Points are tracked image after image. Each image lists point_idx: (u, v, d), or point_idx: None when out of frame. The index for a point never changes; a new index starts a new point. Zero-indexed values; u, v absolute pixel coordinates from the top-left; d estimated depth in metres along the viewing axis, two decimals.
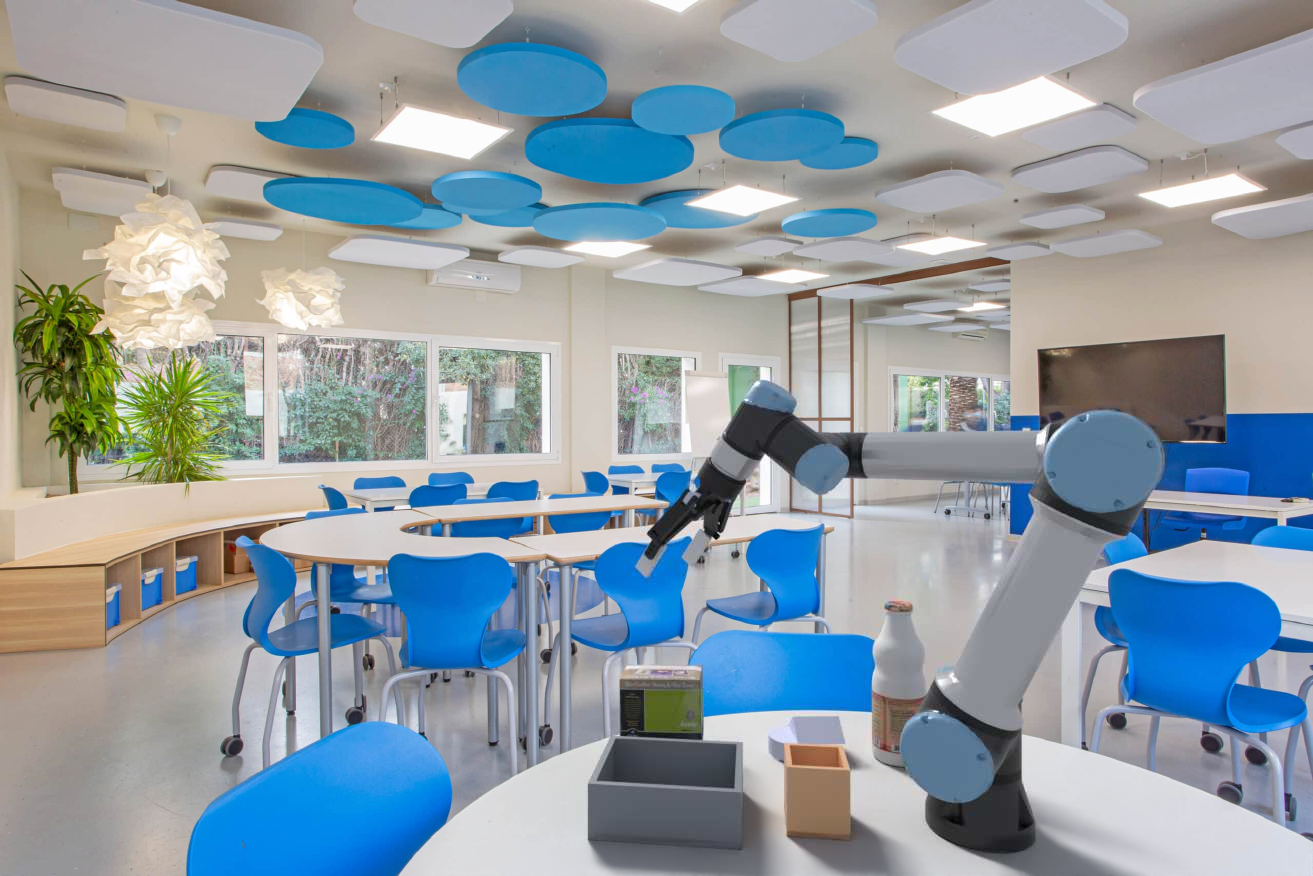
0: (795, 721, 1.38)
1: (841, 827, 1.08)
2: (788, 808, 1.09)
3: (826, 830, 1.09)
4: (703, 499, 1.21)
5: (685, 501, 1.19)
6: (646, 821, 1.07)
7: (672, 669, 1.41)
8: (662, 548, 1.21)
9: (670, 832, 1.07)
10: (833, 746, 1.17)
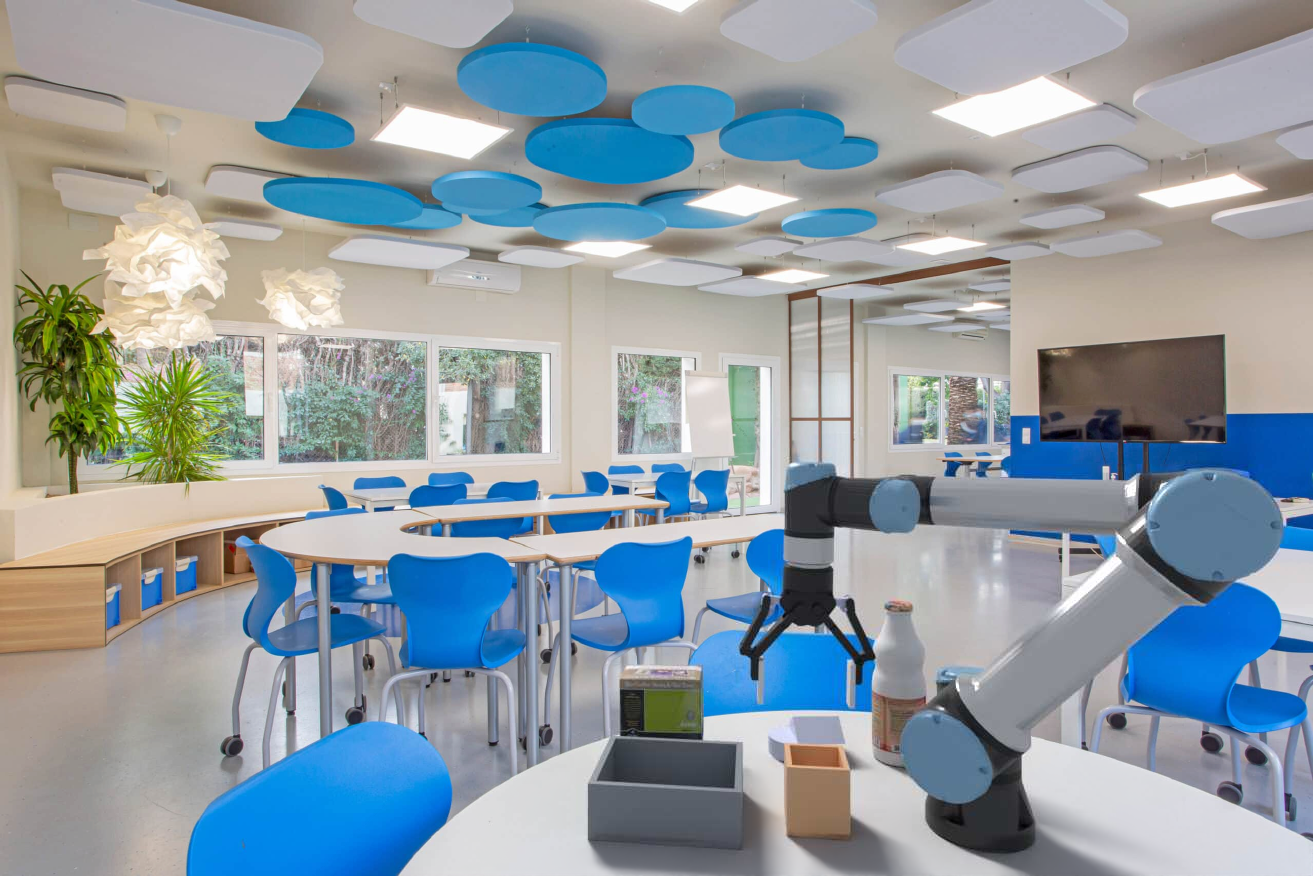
0: (795, 721, 1.38)
1: (841, 827, 1.08)
2: (788, 808, 1.09)
3: (826, 830, 1.09)
4: (783, 600, 1.13)
5: (761, 604, 1.15)
6: (646, 821, 1.07)
7: (672, 669, 1.41)
8: (758, 663, 1.14)
9: (670, 832, 1.07)
10: (833, 746, 1.17)
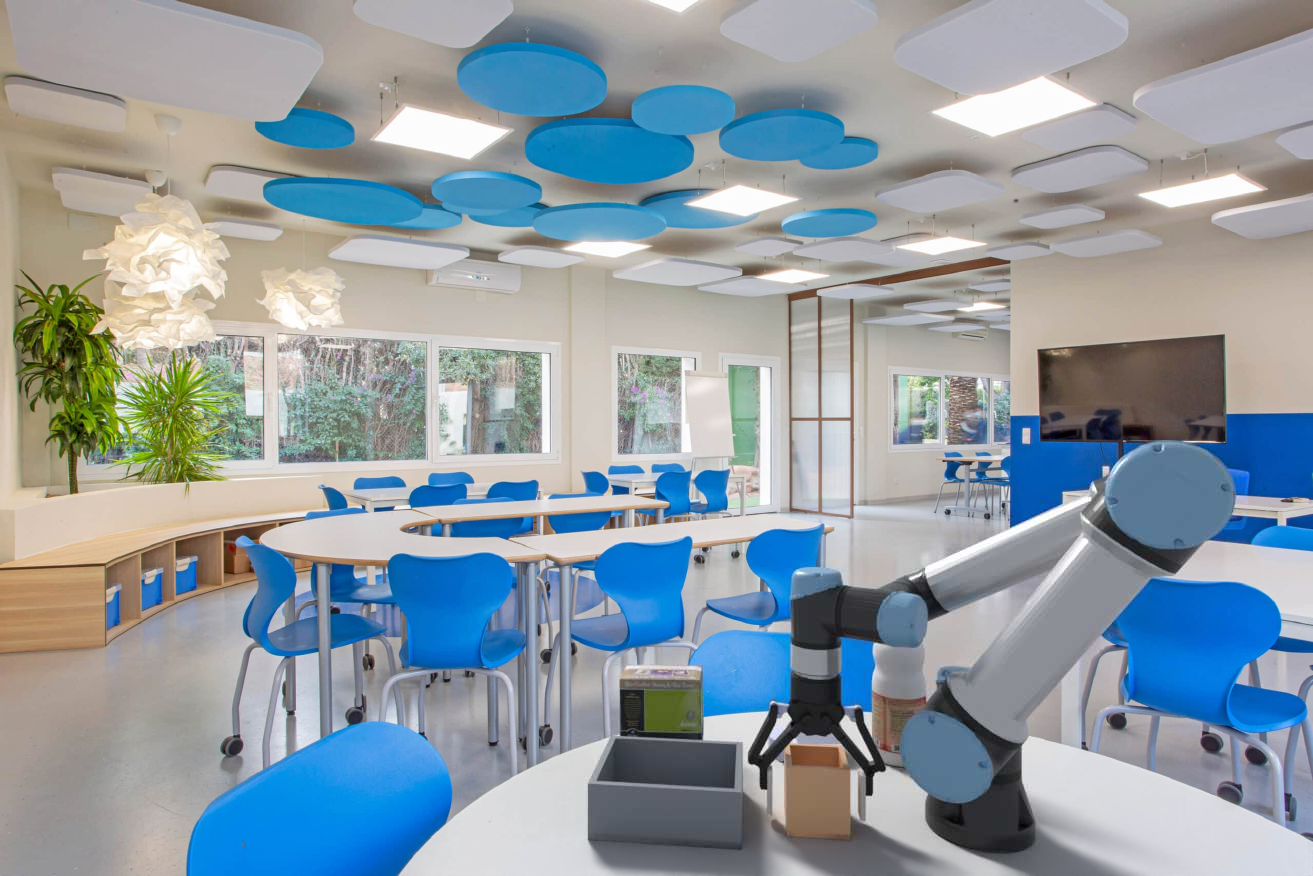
0: None
1: (841, 827, 1.08)
2: (788, 808, 1.09)
3: (826, 830, 1.09)
4: (790, 709, 1.13)
5: None
6: (646, 821, 1.07)
7: (672, 669, 1.41)
8: (767, 773, 1.13)
9: (670, 832, 1.07)
10: (833, 746, 1.17)
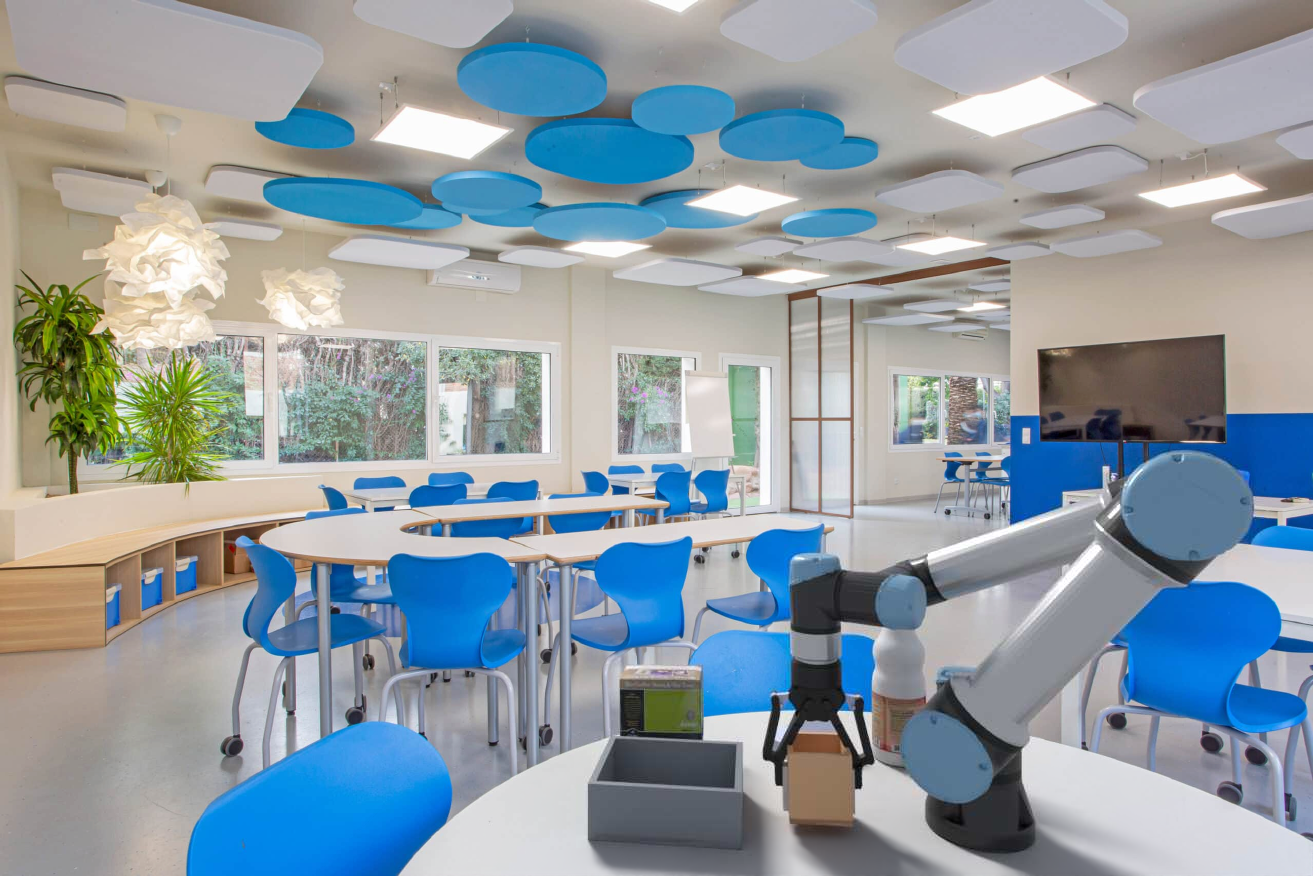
0: None
1: (844, 813, 1.08)
2: (790, 795, 1.09)
3: (828, 817, 1.08)
4: (791, 696, 1.13)
5: None
6: (646, 821, 1.07)
7: (672, 669, 1.41)
8: (782, 769, 1.13)
9: (670, 832, 1.07)
10: (834, 733, 1.17)
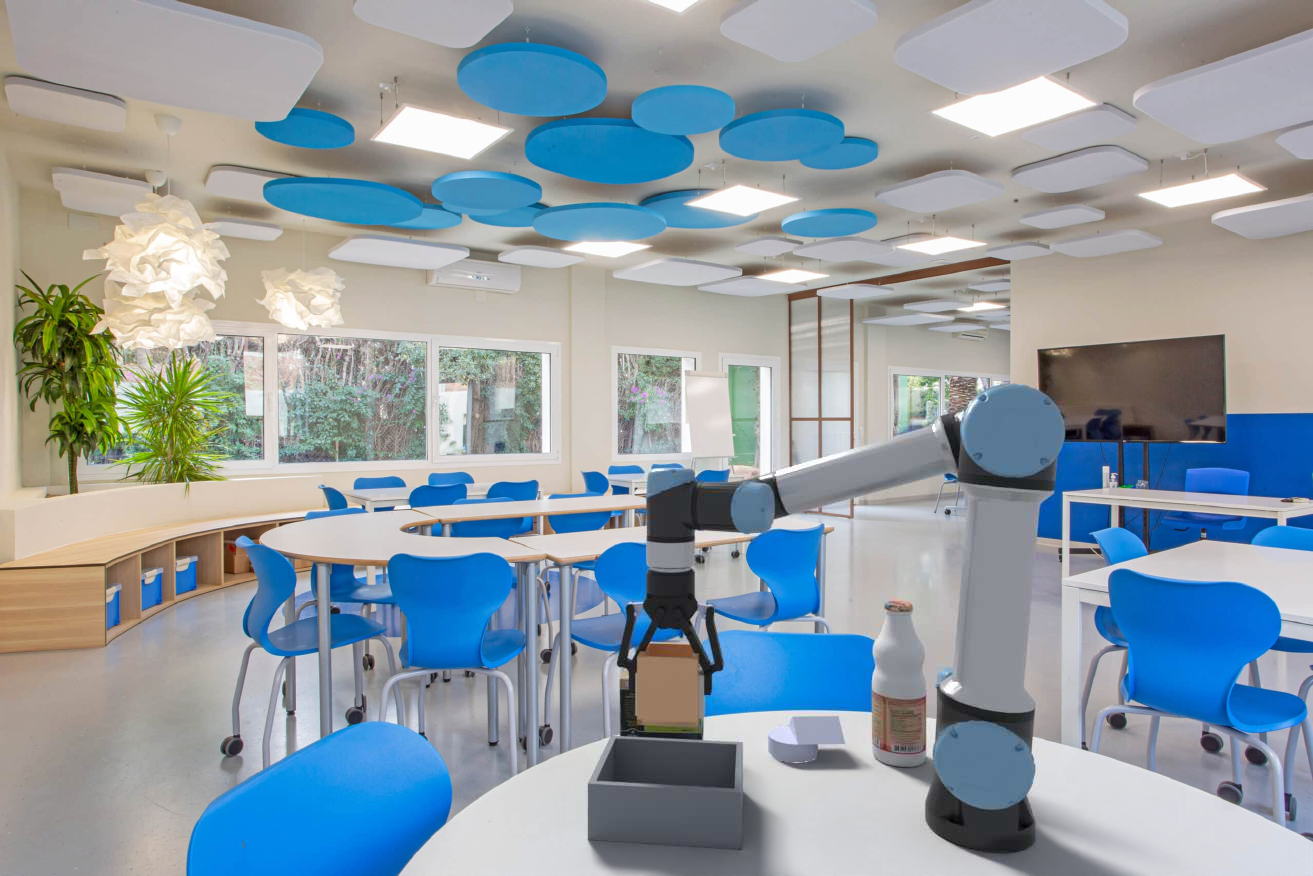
0: (795, 721, 1.38)
1: (689, 715, 1.11)
2: (638, 697, 1.12)
3: (674, 718, 1.11)
4: (645, 605, 1.16)
5: None
6: (646, 821, 1.07)
7: None
8: None
9: (670, 832, 1.07)
10: None
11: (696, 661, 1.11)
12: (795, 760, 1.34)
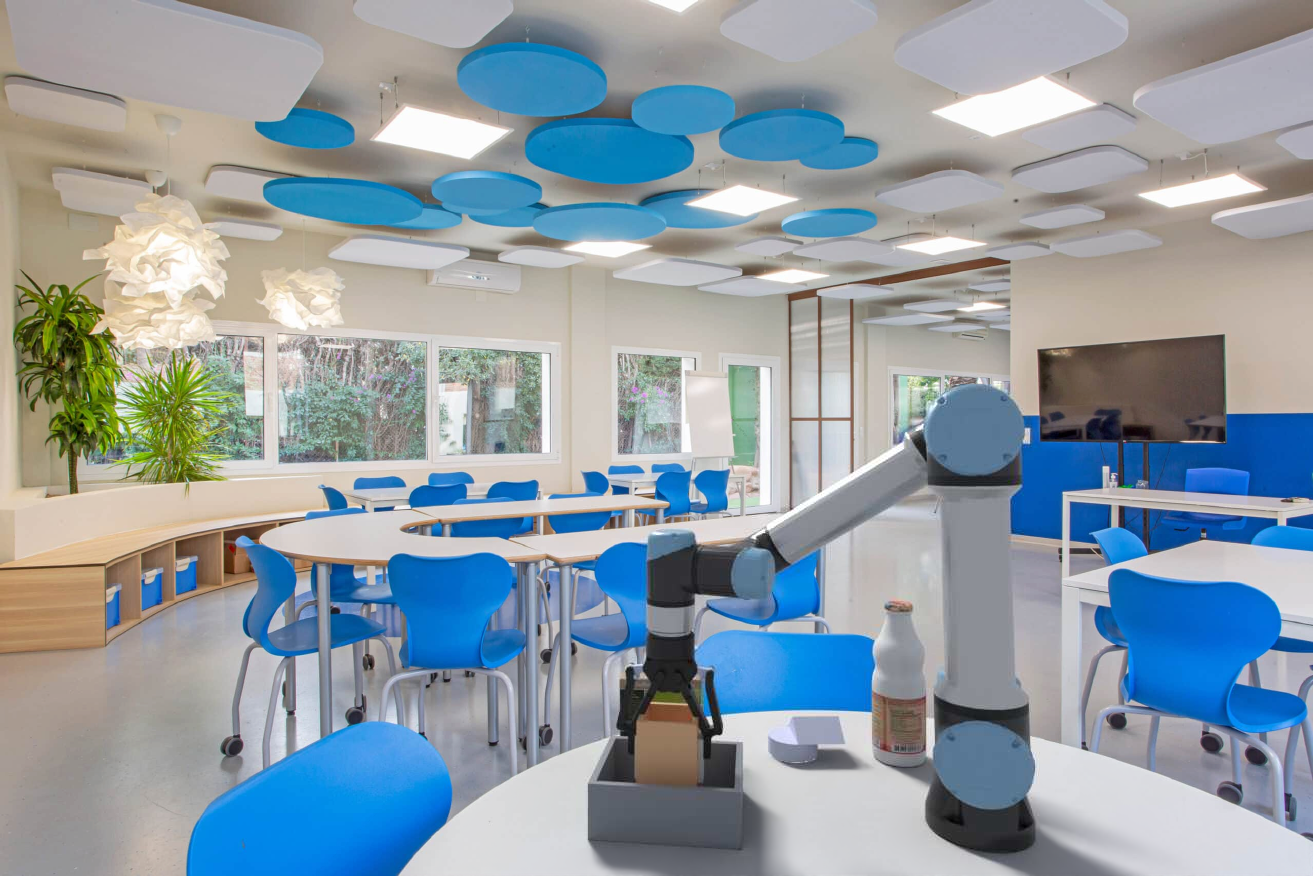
0: (795, 721, 1.38)
1: (688, 780, 1.11)
2: (637, 762, 1.12)
3: (673, 783, 1.11)
4: (645, 668, 1.16)
5: None
6: (646, 821, 1.07)
7: None
8: (634, 738, 1.16)
9: (670, 832, 1.07)
10: None
11: (695, 727, 1.11)
12: (795, 760, 1.34)
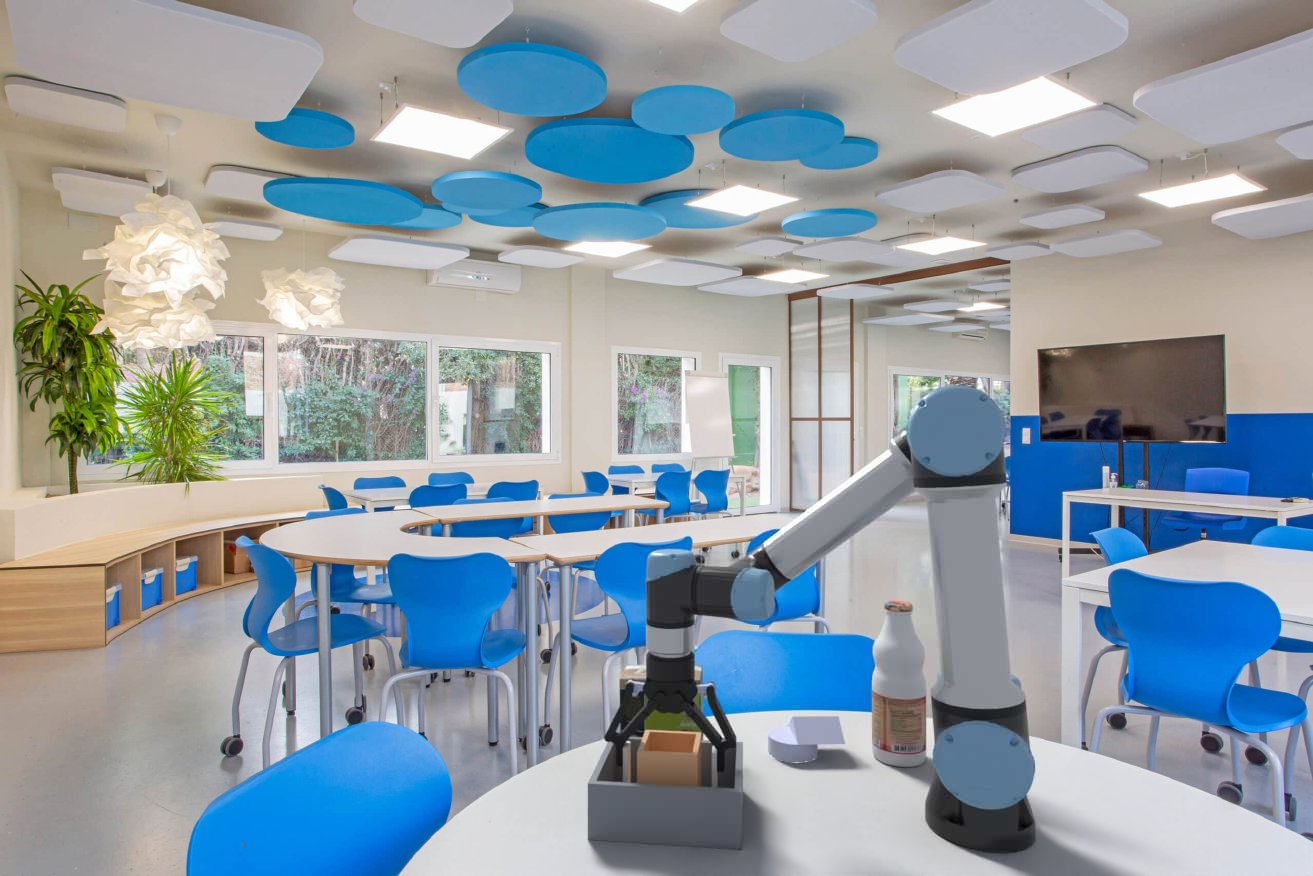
0: (795, 721, 1.38)
1: None
2: None
3: None
4: (645, 687, 1.15)
5: None
6: (646, 821, 1.07)
7: None
8: (623, 750, 1.16)
9: (670, 832, 1.07)
10: (691, 733, 1.20)
11: (696, 757, 1.11)
12: (795, 760, 1.34)
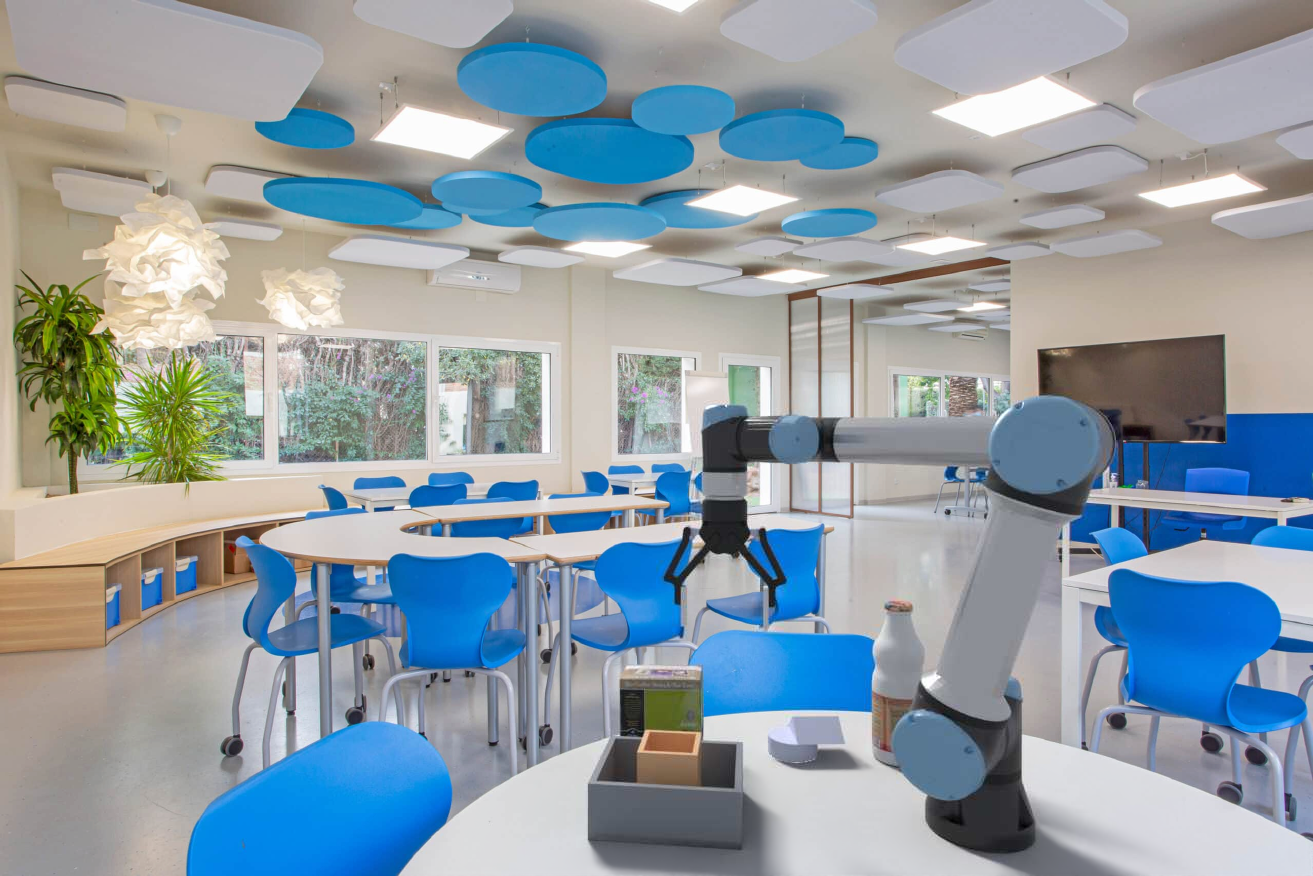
0: (795, 721, 1.38)
1: None
2: None
3: None
4: (701, 531, 1.25)
5: None
6: (646, 821, 1.07)
7: (672, 669, 1.41)
8: (681, 589, 1.25)
9: (670, 832, 1.07)
10: (691, 733, 1.20)
11: (696, 757, 1.11)
12: (795, 760, 1.34)
